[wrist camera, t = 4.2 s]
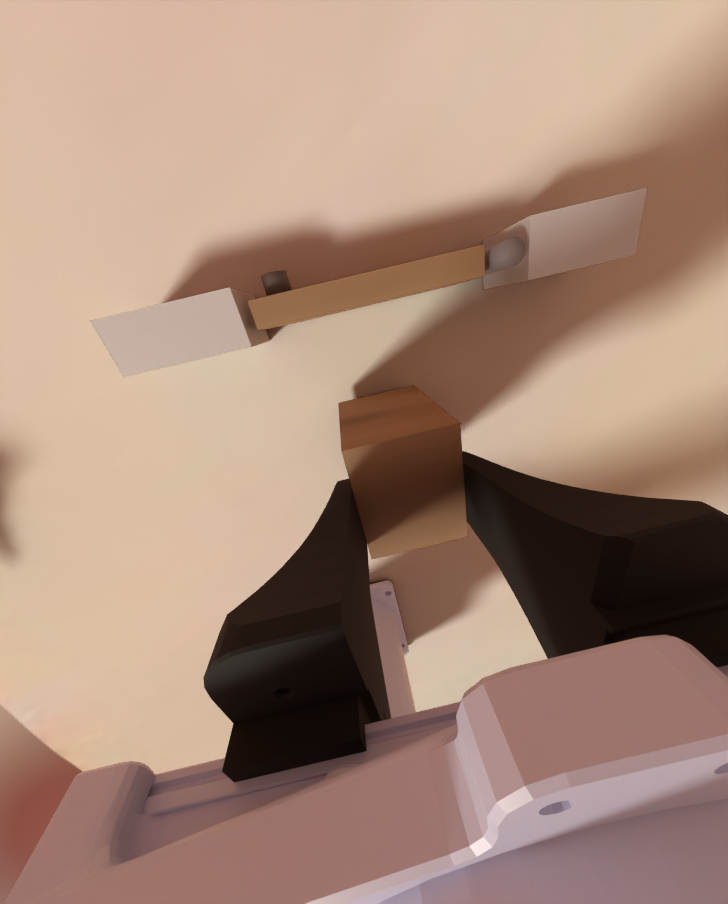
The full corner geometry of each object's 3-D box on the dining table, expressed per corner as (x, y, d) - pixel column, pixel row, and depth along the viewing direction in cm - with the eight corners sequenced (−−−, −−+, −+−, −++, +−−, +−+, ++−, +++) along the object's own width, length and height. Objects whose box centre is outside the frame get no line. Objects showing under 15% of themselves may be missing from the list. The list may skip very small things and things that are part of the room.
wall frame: (566, 269, 14) (643, 253, 10) (170, 364, 14) (117, 378, 10) (571, 219, 13) (656, 183, 10) (149, 320, 13) (83, 320, 10)
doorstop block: (424, 467, 17) (467, 536, 11) (359, 482, 17) (371, 559, 11) (413, 385, 15) (460, 422, 9) (338, 402, 15) (341, 451, 9)
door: (452, 285, 13) (484, 275, 11) (273, 327, 13) (257, 330, 11) (449, 240, 13) (483, 216, 10) (259, 285, 13) (238, 275, 10)
